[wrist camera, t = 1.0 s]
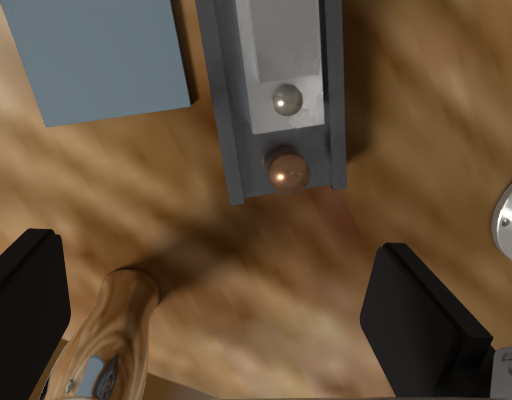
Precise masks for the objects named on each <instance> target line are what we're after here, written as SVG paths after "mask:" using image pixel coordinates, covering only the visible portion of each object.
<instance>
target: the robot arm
mask: <svg viewBox="0 0 512 400" xmlns="http://www.w3.org/2000/svg"><path fill="white" fill-rule="evenodd" d="M492 236H493V240H494V242H495V244H496V246H497V248H498V249H499V250H500V251H501V252H502V253H503V254H504V255H505V256H507V257H508V258H510V259H511V260H512V183H511V184H510V185H509V187H508V188H507V189H506V190H505V192H504V193H503V195H502V196H501V198H500V200H499V201H498V203H497V206H496V208H495V211H494V214H493V219H492ZM70 317H71V308H70V300H69V293H68V285H67V277H66V269H65V261H64V254H63V246H62V239H61V236H60V235H55V233H54V231H53V230H52V229H32V228H30V229H27V230H26V231H25V232H24V233H23V234H22V235H21V236H20V237H19V238H18V239H17V240H16V241H15V242H14V243H13V244H12V245H11V246H9V247H8V248H7V249H6V250H5V251H4V252H3V253H2V254H1V255H0V400H28V399H29V397H30V395H31V393H32V392H33V390H34V388H35V385H36V384H37V382H38V380H39V379H40V377H41V375H42V373H43V371H44V369H45V367H46V366H47V364H48V362H49V360H50V358H51V356H52V354H53V353H54V351H55V349H56V347H57V345H58V343H59V341H60V340H61V338H62V336H63V334H64V332H65V330H66V328H67V327H68V324H69V322H70ZM360 324H361V327H362V330H363V332H364V334H365V336H366V338H367V340H368V342H369V344H370V346H371V348H372V350H373V352H374V354H375V356H376V357H377V359H378V361H379V363H380V365H381V367H382V369H383V371H384V373H385V375H386V377H387V379H388V381H389V383H390V385H391V387H392V389H393V391H394V393H395V395H396V397H367V398H282V399H220V400H512V348H511V347H506V348H500V349H498V350H496V351H495V349H494V348H493V347H492V346H491V345H490V344H491V342H492V340H493V336H492V335H491V334H490V333H489V332H488V331H487V330H486V329H485V328H484V327H483V326H482V325H481V324H480V323H479V322H478V320H477V319H476V318H475V317H474V316H473V315H472V314H471V313H470V312H469V311H468V310H467V309H466V308H465V307H464V305H463V304H462V303H461V302H460V301H459V300H458V299H457V298H456V297H455V296H454V295H453V294H452V293H451V292H450V291H449V289H448V288H447V287H446V286H445V285H444V284H443V283H442V282H441V281H440V280H439V279H438V278H437V277H436V276H435V274H434V273H433V272H432V271H431V270H430V269H429V268H428V267H427V266H426V265H425V264H424V263H423V262H422V261H421V260H420V258H419V257H418V256H417V255H416V254H415V253H414V252H413V251H412V250H411V249H410V248H409V247H408V246H407V245H406V244H405V243H385V244H384V245H383V247H379V248H378V250H377V253H376V257H375V261H374V264H373V268H372V272H371V276H370V280H369V284H368V287H367V291H366V295H365V299H364V303H363V306H362V310H361V314H360Z"/></svg>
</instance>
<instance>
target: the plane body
mask: <svg viewBox="0 0 512 400" xmlns="http://www.w3.org/2000/svg"><path fill="white" fill-rule="evenodd" d="M318 1H319V22H320V42H321V62H322V82H323V103H324V123H325V124H321V125H315V126H308V127H301V128H294V129H288V130H281V131H274V132H267V133H260V134H254V135H253V133H252V130H251V128H250V125H249V122H248V116H247V108H246V101H245V93H244V86H243V79H242V71H241V64H240V56H239V49H238V42H237V34H236V27H235V19H234V12H233V5H232V0H195V3H196V9H197V14H198V20H199V26H200V32H201V38H202V44H203V49H204V55H205V61H206V67H207V73H208V79H209V84H210V90H211V96H212V102H213V108H214V114H215V119H216V125H217V131H218V137H219V143H220V148H221V154H222V160H223V166H224V172H225V178H226V183H227V189H228V195H229V201H230V206H232V205H238V204H244V198H247V197H253V196H260V195H266V194H273V193H280V194H283V195H295V194H297V193H299V192H301V191H302V190H304V189H306V188H312V187H319V186H325V185H330V187H331V188H332V189H333V190H336V189H342V188H347V173H346V135H345V96H344V58H343V19H342V0H318Z"/></svg>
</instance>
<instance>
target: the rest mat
mask: <svg viewBox="0 0 512 400" xmlns="http://www.w3.org/2000/svg"><path fill="white" fill-rule="evenodd" d="M0 3H1V5H2V8H3V11H4V14H5V16H6V19H7V22H8V25H9V27H10V30H11V33H12V36H13V38H14V41H15V44H16V46H17V49H18V52H19V55H20V57H21V60H22V63H23V66H24V68H25V71H26V74H27V77H28V79H29V82H30V85H31V88H32V90H33V93H34V96H35V98H36V101H37V104H38V107H39V109H40V112H41V115H42V118H43V120H44V123H45V126H46V127H52V126H59V125H66V124H73V123H80V122H87V121H94V120H101V119H108V118H115V117H122V116H129V115H136V114H142V113H149V112H156V111H163V110H170V109H177V108H184V107H191V100H190V95H189V90H188V85H187V80H186V75H185V69H184V64H183V59H182V54H181V49H180V44H179V39H178V34H177V29H176V23H175V18H174V13H173V8H172V3H171V0H0Z"/></svg>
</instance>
